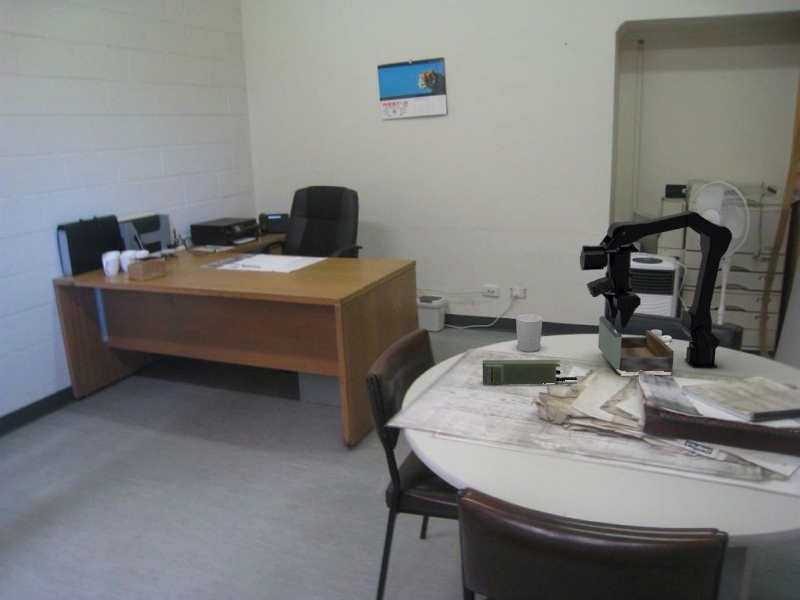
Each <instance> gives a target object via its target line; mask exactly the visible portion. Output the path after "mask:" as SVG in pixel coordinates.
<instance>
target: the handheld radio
mask: <svg viewBox="0 0 800 600" xmlns="http://www.w3.org/2000/svg"><path fill="white" fill-rule="evenodd" d="M560 363H561V360H560V359H483V360H482V384H483V385H485V384H543V383H544V384H546V383H558V382H561V383H564V382H563V381H565V380H577V381H578V377H577V376H561V377H559V376H560V374H561V370H560V369H557V368H560V367H561V365H560ZM557 375H559V376H557Z"/></svg>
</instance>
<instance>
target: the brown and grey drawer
mask: <svg viewBox="0 0 800 600" xmlns="http://www.w3.org/2000/svg"><path fill="white" fill-rule="evenodd" d="M644 335H645V336H622V337H621V355H620V369H619V370H621V371H626V372H638V371H640V370H642V371H664V372H672V373H673V367H674V365H673V364H674V354H675V353H674V352H675V351H674V350H673V349H672V348H671V347H670V346H669V345H666V344H665V343H666V342H663V341H662V340H660V339H659V338H658V337H657V336H656V335H655V334H654V333H652V332H651V330H650V329H649V330H647V329H646V330H645V334H644ZM603 355H604V354H603ZM604 357H605V355H604Z"/></svg>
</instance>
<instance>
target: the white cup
mask: <svg viewBox="0 0 800 600" xmlns="http://www.w3.org/2000/svg"><path fill="white" fill-rule="evenodd" d="M515 321H516V323H515V324H516V340H517V349H518V350H519V351H521V352H526V353H527V352H528V353H533V352H537V351H540V349H541V341H542V331H543V330H542V327H543V317H542V316H540V315H537V314H519V315H518V316H516V318H515Z"/></svg>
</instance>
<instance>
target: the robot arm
mask: <svg viewBox="0 0 800 600" xmlns="http://www.w3.org/2000/svg"><path fill="white" fill-rule="evenodd" d="M685 228H690V229H691V230H692V231H694V232H695V233H697V235H699V247H700V252H701V259H700V260H701V261H700V264H699V265H700V266H699V270H698V275H697V280H696V284H695V290H694V295H693V298H692V299H693V300H692V304H691V306H690V308H689V309H688V310H684V309H683V310H682V312H681V314H682V317H681V320H680V322H679V324H680V325H681V329H682V331H683V332H684V334H685V335H687V337H688V339H689V340H691V341H688V346H687V347H686V354H685V358H684V360H685V361H686V363H688V364H689V365H690V366H691V367H692V368H696V369H697V368H699V369H700V368H717V367H718V365H717V364H716V363H715V361H716V353H717V348H718V347H719V345H720V343H721V340H720V339H719V338H718V337H717V336H715V335H714V333H713V319H712V313H711V306H712V301H713V297H714V294H715V288H716V283H717V278H718V274H719V269H720V264H721V261H722V258H723V257H724V255H726V253H727V251H728V250H729V247H730V244H731V242H732V239H733V232H732V231H731V230H730V228H729V227H727V226H725V225H721V224H718V223H714V222H713V221H710V220H708V219H707V218H705V217H703V216H701V214H699V213H698V212H696V211H693V210H684V211H683V212H679V213H678V212H677V213H673V214H669V215H664V216H660V217H656V218H651V219H647V220H641V221H632V220H631V221H629V220H628V221H627V220H626V221H615V222H613V223H611V224H610V225H609V227H608V228H607V232H606V233H607V234H606V235H605V236H603V239H602V240H601V241H600V243H599V245H587V244H585V245H582V246H581V251H580V255H579V263H580V264H579V265H580V269H581V271H595V270H596V271H597V270H599V271H600V270H604V269H605V268H607V266H608V270H606V272H605V276H604V277H600V278H597V279H594V280H593V281H590V282H588V283H587V284H586V286H587V289H588V291H589V295H590V296H592V298H596V297H597V298H598V297H599V296H600V295H602V296H603V297H604V298H605V299H606V300H607V306H608V309H609V312H610V316H611V317H610V318H611V319H616V318H617V316H619V317H618V318H619V323H620V328H622V329H624V328H626V327H627V325H628V323H629V322H630V320H631V318H632V316H633V315H634V313H635V311H636V310H637V308H639V306H641V305H642V304H641V301H642V299H641V297H639V295H638V294H636V293H635V292H634V291H633V287H631V278H633V275H634V273H633V272H631V263H632V261H631V260H632V253H633V254H634V253H640V249H638V248H637V247H636V246H635V245H634V243H635V242H639V240H641V239H643V238H645V237H648V236H653V235H657V234H661V233H667V232H670V231H676V230H681V229H685Z"/></svg>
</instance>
